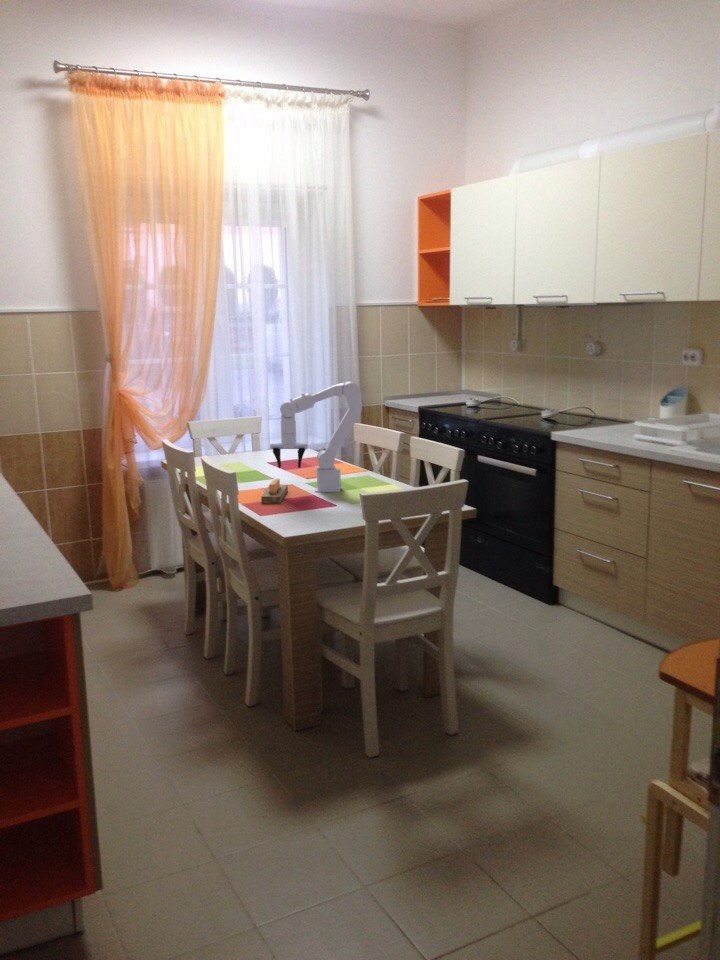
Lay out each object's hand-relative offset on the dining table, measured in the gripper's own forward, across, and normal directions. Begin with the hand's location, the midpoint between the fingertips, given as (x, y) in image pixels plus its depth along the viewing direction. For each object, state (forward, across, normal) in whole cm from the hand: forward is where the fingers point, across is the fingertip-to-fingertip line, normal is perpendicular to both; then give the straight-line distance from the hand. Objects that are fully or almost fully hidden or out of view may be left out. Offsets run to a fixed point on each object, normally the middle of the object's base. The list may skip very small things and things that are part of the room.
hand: (289, 467), depth 321 cm
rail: (+9, -4, -10) cm, 14 cm away
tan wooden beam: (+9, -4, -10) cm, 15 cm away
